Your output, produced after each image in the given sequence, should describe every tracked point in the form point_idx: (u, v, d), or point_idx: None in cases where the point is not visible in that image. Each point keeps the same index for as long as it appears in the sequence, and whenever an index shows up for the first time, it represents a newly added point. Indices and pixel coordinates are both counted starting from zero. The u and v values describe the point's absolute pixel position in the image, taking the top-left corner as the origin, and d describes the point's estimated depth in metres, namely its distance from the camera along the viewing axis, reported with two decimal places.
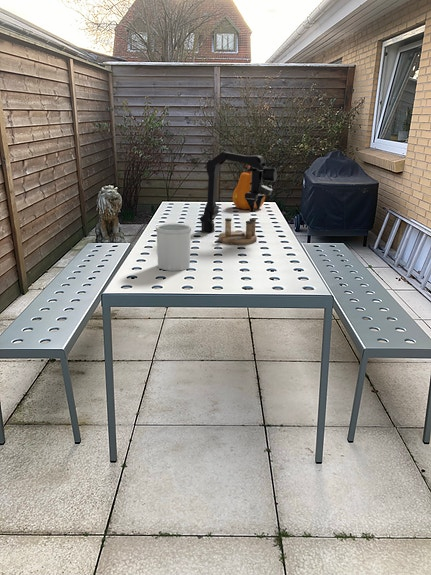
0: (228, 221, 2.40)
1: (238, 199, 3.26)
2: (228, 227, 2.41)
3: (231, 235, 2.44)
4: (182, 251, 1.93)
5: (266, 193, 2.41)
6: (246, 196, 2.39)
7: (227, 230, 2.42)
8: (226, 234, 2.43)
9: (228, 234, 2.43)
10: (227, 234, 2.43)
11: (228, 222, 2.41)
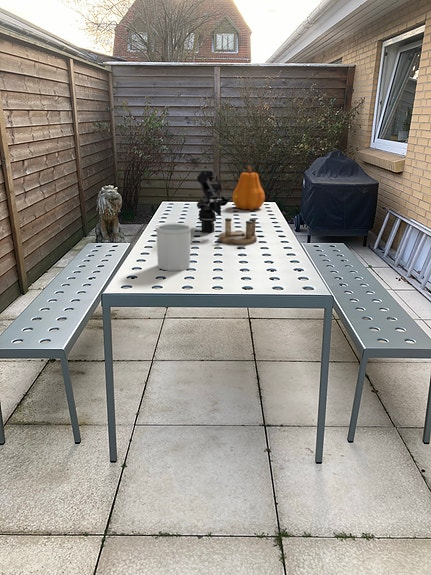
0: (228, 221, 2.40)
1: (238, 199, 3.26)
2: (228, 227, 2.41)
3: (231, 235, 2.44)
4: (182, 251, 1.93)
5: None
6: None
7: (227, 230, 2.42)
8: (226, 234, 2.43)
9: (228, 234, 2.43)
10: (227, 234, 2.43)
11: (228, 222, 2.41)
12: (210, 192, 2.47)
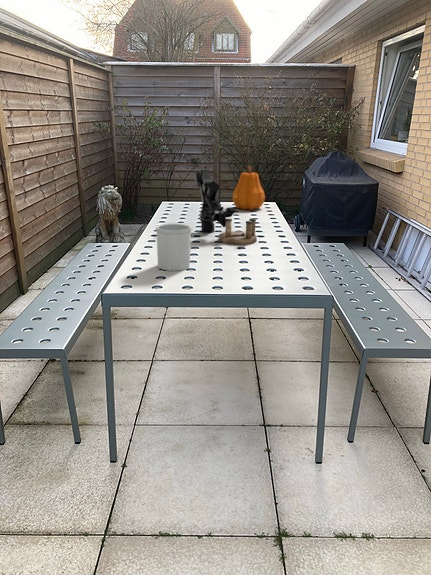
0: (229, 221, 2.40)
1: (238, 199, 3.26)
2: (228, 227, 2.41)
3: (231, 235, 2.43)
4: (182, 251, 1.93)
5: None
6: None
7: (227, 230, 2.41)
8: (226, 234, 2.42)
9: (228, 234, 2.42)
10: (227, 234, 2.42)
11: (229, 222, 2.40)
12: (215, 203, 2.43)
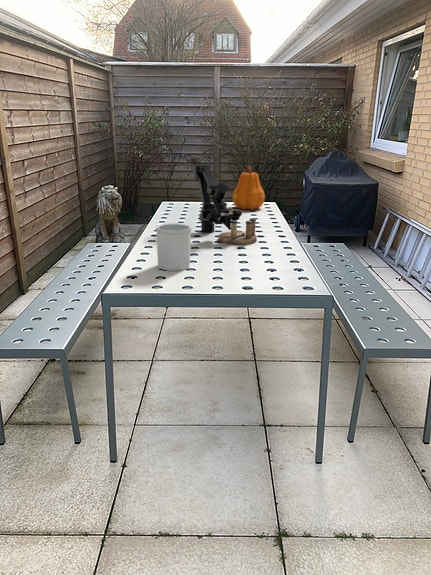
0: (236, 223, 2.36)
1: (238, 199, 3.26)
2: (236, 229, 2.37)
3: (236, 237, 2.40)
4: (182, 251, 1.93)
5: None
6: None
7: (235, 232, 2.37)
8: (234, 237, 2.38)
9: (235, 236, 2.38)
10: (235, 236, 2.38)
11: (236, 224, 2.36)
12: (221, 206, 2.39)
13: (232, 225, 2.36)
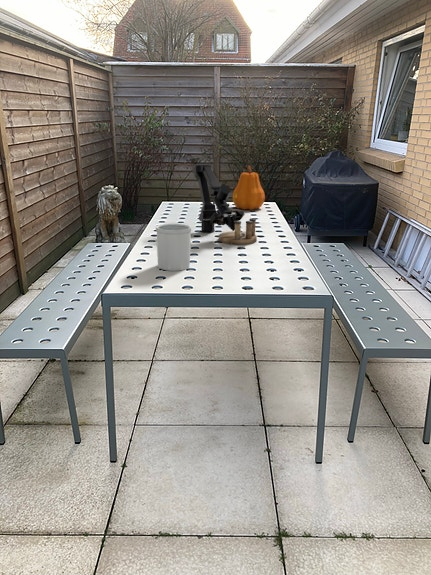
0: (240, 223, 2.35)
1: (238, 199, 3.26)
2: (240, 230, 2.36)
3: (239, 237, 2.39)
4: (182, 251, 1.93)
5: None
6: None
7: (239, 233, 2.36)
8: (238, 237, 2.37)
9: (240, 237, 2.37)
10: (239, 237, 2.37)
11: (240, 224, 2.35)
12: (224, 206, 2.39)
13: (236, 226, 2.35)
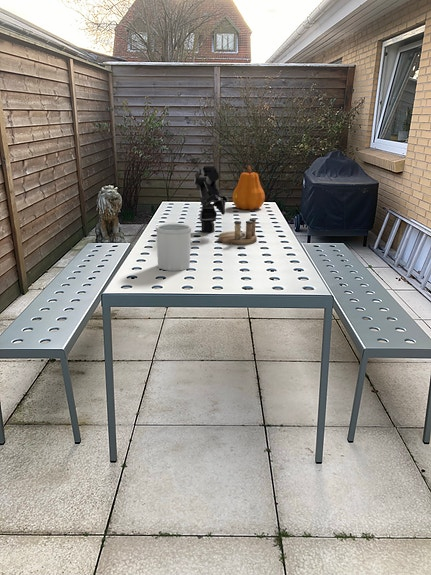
0: (240, 223, 2.35)
1: (238, 199, 3.26)
2: (240, 230, 2.36)
3: (239, 237, 2.39)
4: (182, 251, 1.93)
5: None
6: None
7: (239, 233, 2.36)
8: (238, 237, 2.37)
9: (240, 237, 2.37)
10: (239, 237, 2.37)
11: (240, 224, 2.35)
12: (217, 190, 2.47)
13: (236, 226, 2.35)
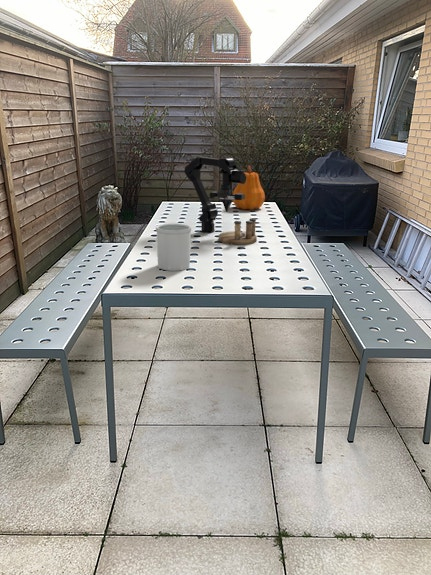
0: (240, 223, 2.35)
1: None
2: (240, 230, 2.36)
3: (239, 237, 2.39)
4: (182, 251, 1.93)
5: None
6: None
7: (239, 233, 2.36)
8: (238, 237, 2.37)
9: (240, 237, 2.37)
10: (239, 237, 2.37)
11: (240, 224, 2.35)
12: None
13: (236, 226, 2.35)
